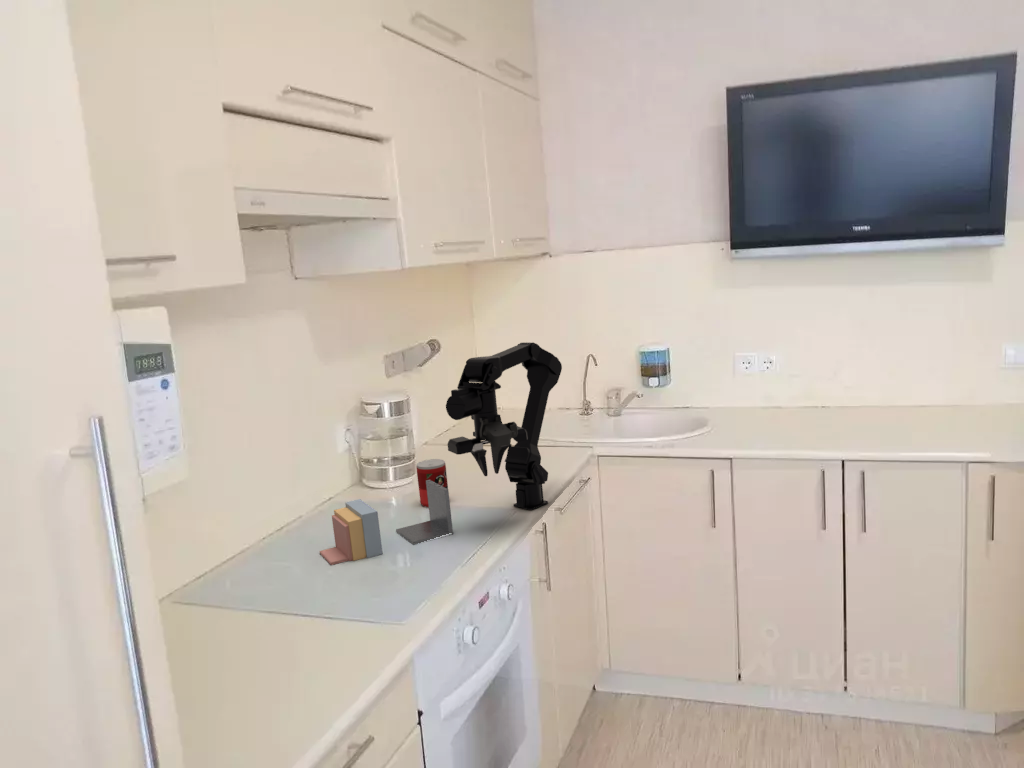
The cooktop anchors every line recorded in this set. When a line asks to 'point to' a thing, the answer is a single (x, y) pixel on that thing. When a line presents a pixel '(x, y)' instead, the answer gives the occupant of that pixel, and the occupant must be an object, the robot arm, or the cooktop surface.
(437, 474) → the canned food
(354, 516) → the book row
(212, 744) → the cooktop surface
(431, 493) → the bookend
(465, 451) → the robot arm
